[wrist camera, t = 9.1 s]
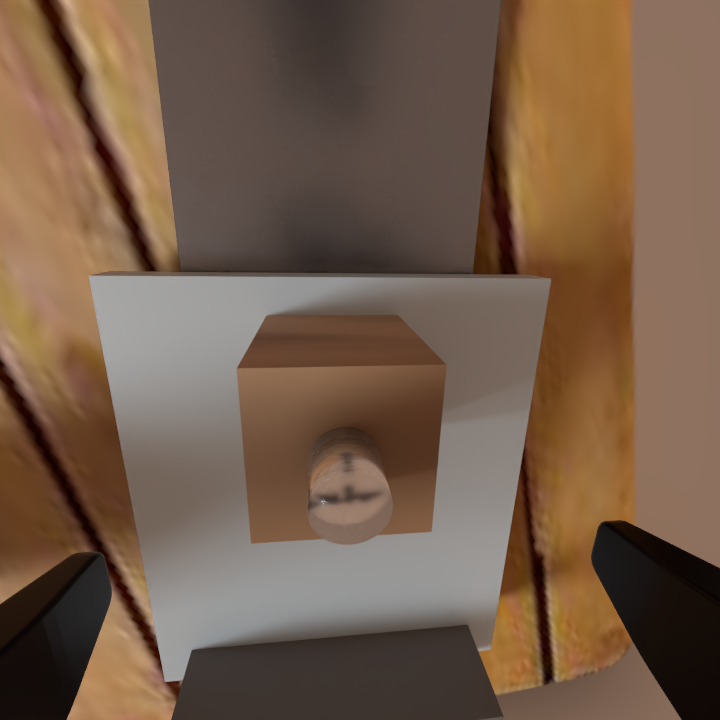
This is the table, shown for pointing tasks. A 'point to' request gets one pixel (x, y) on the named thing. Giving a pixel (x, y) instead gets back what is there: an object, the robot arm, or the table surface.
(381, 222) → the press frame
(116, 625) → the table surface
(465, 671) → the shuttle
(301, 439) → the housing
